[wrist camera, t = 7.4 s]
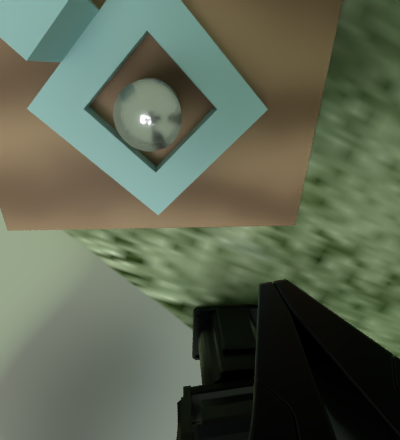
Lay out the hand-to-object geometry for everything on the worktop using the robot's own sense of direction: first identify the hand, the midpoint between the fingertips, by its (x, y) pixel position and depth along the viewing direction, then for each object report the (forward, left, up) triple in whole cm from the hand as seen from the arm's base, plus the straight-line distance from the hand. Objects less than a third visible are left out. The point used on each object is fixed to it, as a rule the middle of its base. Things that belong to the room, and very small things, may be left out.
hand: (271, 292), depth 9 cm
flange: (+6, +6, -11) cm, 14 cm away
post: (+4, +4, -11) cm, 13 cm away
